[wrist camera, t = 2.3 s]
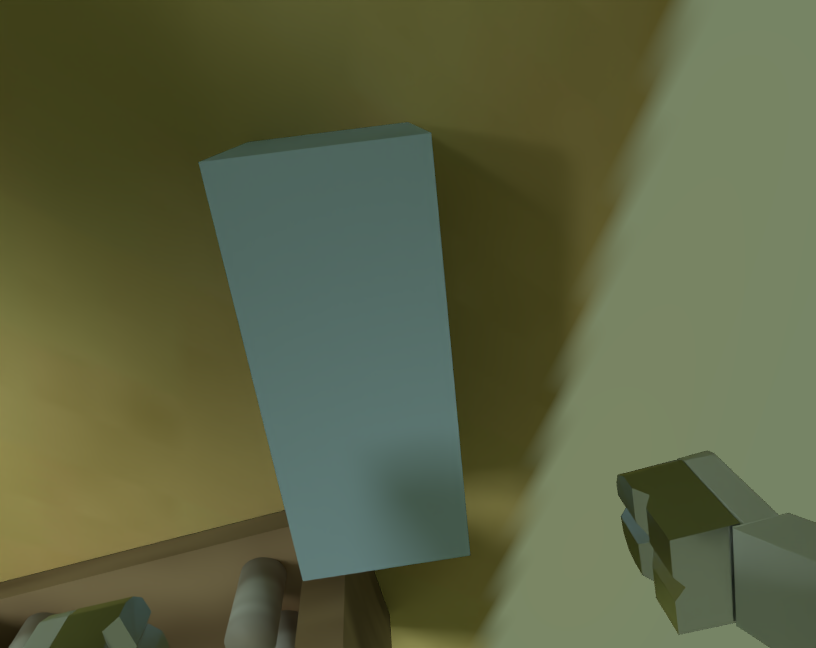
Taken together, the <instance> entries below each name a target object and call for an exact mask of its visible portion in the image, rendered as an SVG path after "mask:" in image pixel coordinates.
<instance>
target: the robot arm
mask: <svg viewBox="0 0 816 648" xmlns="http://www.w3.org/2000/svg"><path fill="white" fill-rule="evenodd" d="M617 490H618V495H619V497H620V499H621V500H622V502H623V503H624V505H625V506H626V509H625V510H624V512H623V514H622V516H621V520H622V526H623V531H624V535H625V538H626V542H627V545H628V548H629V551H630V553H631V555H632V557H633V559H634V561H635V563H636V565H637V567H638V568H639V570H640V572H641V573H642V575H643V576H645V577H647V578H649V579H651V580H653V581H654V584H655V592H656V598H657V600H658V602H659V603H660V605H661V607H662V608H663V610H664V612H665V613H666V615H667V616H668V618H669V620H670V621H671V623H672V625H673V626H674V628H675V629H676V631H677V633H678V634H679V635H680V634H685V633H689V632H694V631H699V630H703V629H708V628H712V627H718V626H722V625H727V624H731V623H736V625H737V626H738V627H739V628H741V629H742V630H744V631H745V632H747V633H748V634H750V635H752V636H753V637H755V638H756V639H758V640H759V641H761V642H762V643H764V644H765V645H767V646H768V647H770V648H816V523H815V522H813V521H810V520H807V519H804V518H801V517H799V516H796V515H793V514H790V513H787V514H782V515H778V514H777V513H776V512H775V511H774V510H773V509H772V508H771V507H770V506H769V505H768V504H767V503H765V501H763V499H761V498H760V497H759V496H758V495H757V494H756V493H755V492H754V491H753V490H752V489H751V488H750V487H749V486H748V485H747V484H746V483H745V482H744V481H743V480H742V479H740V478H739V477H738V476H737V475H736V474H735V473H734V472H733V471H732V470H731V469H730V468H729V467H728V466H727V465H726V464H725V463H724V462H723V461H722V460H721V459H720V458H718V457H717V456H716V455H715V454H714V453H712V452H710V451H704V452H700V453H697V454H693V455H689V456H686V457H682V458H679V459H677V460H674V461H670V462H666V463H662V464H658V465H654V466H650V467H647V468H642V469H638V470H635V471H631V472H627V473H623V474H619V475H618V476H617ZM150 615H151V610H150V609H149V607H148V605H147V604H146V602H145V601H144V599H143V598H142V597H135V596H132V597H128V598H124V599H119V600H115V601H110V602H106V603H101V604H97V605H92V606H88V607H84V608H79V609H77V610H73V611H68V612H64V613H60V614H55V615H51V616H49V617H47V618H46V619H44V620H43V621H41V622H40V623H39V624H38V625H37V627H36V628H35V630H34V632H33V633H32V635H31V636H30V638H29V639H28V641H27V642H26V644H25V645H24V647H23V648H169V643H168V641H167V639H166V637H165V635H164V633H163V631H162V630H160V629H158V628H156V627H154V626H152V625H150V624H148V621H149V618H150Z"/></svg>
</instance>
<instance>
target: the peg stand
mask: <svg viewBox="0 0 816 648" xmlns="http://www.w3.org/2000/svg"><path fill="white" fill-rule="evenodd" d="M132 596H135V597H142V598H143V599H144V601H145V602H146V604H147V605H148V607H149V609H150V610H151V615H150V618H149V621H148V624H150V625H152V626H154V627H156V628H158V629H160V630H162V631H163V633H164V635H165V637H166V639H167V641H168V643H169V648H392V644H391V628H390V615H389V612H388V609H387V606H386V604H385V601H384V598H383V595H382V592H381V590H380V587H379V584H378V581H377V578H376V576H375V573H374V570H372V571H366V572H359V573H353V574H346V575H340V576H334V577H327V578H321V579H314V580H308V581H303V580H302V576H301V572H300V568H299V564H298V560H297V556H296V552H295V548H294V544H293V540H292V536H291V532H290V528H289V524H288V520H287V516H286V512H285V511H281V512H277V513H274V514H270V515H266V516H262V517H258V518H254V519H250V520H246V521H242V522H238V523H234V524H230V525H226V526H222V527H218V528H214V529H210V530H206V531H202V532H198V533H195V534H191V535H187V536H183V537H179V538H175V539H171V540H167V541H163V542H159V543H155V544H151V545H147V546H143V547H139V548H135V549H131V550H127V551H123V552H119V553H116V554H112V555H108V556H104V557H100V558H96V559H92V560H88V561H84V562H80V563H76V564H72V565H68V566H64V567H60V568H56V569H52V570H48V571H44V572H41V573H37V574H33V575H29V576H25V577H21V578H17V579H13V580H9V581H5V582H1V583H0V648H23V647H24V645H25V644H26V642H27V641H28V639H29V638H30V636H31V635H32V633H33V632H34V630H35V628H36V627H37V625H38V624H39V623H40V622H41V621H43V620H44V619H46V618H47V617H49V616H51V615H55V614H60V613H64V612H68V611H73V610H77V609H79V608H84V607H88V606H92V605H97V604H101V603H106V602H110V601H115V600H119V599H124V598H128V597H132Z"/></svg>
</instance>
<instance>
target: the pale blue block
mask: <svg viewBox="0 0 816 648" xmlns="http://www.w3.org/2000/svg"><path fill="white" fill-rule="evenodd" d="M198 163H199V167H200V171H201V175H202V179H203V183H204V187H205V191H206V195H207V199H208V203H209V207H210V211H211V215H212V219H213V223H214V227H215V231H216V235H217V239H218V243H219V247H220V251H221V255H222V259H223V263H224V267H225V271H226V275H227V279H228V283H229V287H230V291H231V295H232V299H233V303H234V307H235V311H236V315H237V319H238V323H239V327H240V331H241V335H242V339H243V343H244V347H245V351H246V355H247V359H248V363H249V367H250V371H251V375H252V379H253V383H254V387H255V391H256V395H257V399H258V403H259V407H260V411H261V415H262V419H263V423H264V427H265V431H266V435H267V439H268V443H269V447H270V451H271V455H272V459H273V464H274V468H275V472H276V476H277V480H278V484H279V488H280V492H281V496H282V500H283V504H284V508H285V512H286V516H287V520H288V524H289V528H290V532H291V536H292V540H293V544H294V548H295V552H296V556H297V560H298V564H299V568H300V572H301V576H302V580H303V581H308V580H314V579H321V578H327V577H334V576H340V575H346V574H353V573H359V572H366V571H372V570H379V569H385V568H392V567H398V566H405V565H411V564H418V563H424V562H431V561H437V560H444V559H450V558H457V557H463V556H470V547H469V536H468V525H467V515H466V504H465V493H464V482H463V471H462V461H461V450H460V439H459V428H458V417H457V407H456V396H455V385H454V374H453V363H452V353H451V342H450V331H449V320H448V310H447V299H446V288H445V277H444V266H443V256H442V245H441V234H440V223H439V212H438V202H437V191H436V180H435V169H434V158H433V148H432V137H431V133H430V132H428V131H426V130H424V129H422V128H420V127H417V126H415V125H413V124H411V123H409V122H405V123H397V124H389V125H381V126H373V127H365V128H357V129H349V130H341V131H333V132H325V133H317V134H309V135H301V136H293V137H285V138H277V139H269V140H261V141H253V142H247V143H244V144H242V145H240V146H237V147H235V148H232V149H230V150H227V151H225V152H222V153H220V154H217V155H215V156H212V157H210V158H207V159H205V160H202V161H200V162H198Z"/></svg>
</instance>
